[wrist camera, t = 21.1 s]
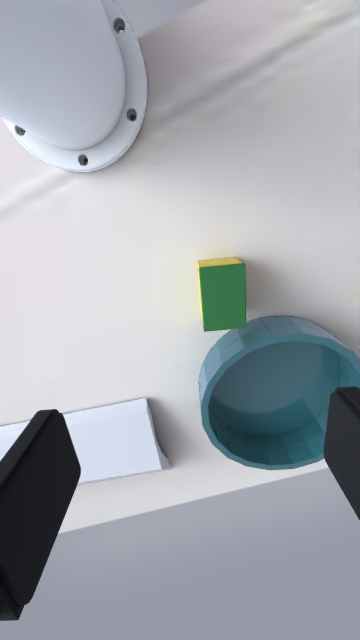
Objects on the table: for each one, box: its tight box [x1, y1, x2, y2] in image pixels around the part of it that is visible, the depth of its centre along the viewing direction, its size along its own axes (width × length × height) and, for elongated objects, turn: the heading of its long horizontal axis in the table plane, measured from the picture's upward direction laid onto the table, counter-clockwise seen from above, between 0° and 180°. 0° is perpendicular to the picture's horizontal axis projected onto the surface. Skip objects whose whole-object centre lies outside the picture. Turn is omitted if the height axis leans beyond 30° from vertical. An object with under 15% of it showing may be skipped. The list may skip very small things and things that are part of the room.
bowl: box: [199, 316, 360, 470], centre depth 30 cm, size 18×18×5 cm
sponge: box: [197, 257, 246, 331], centre depth 26 cm, size 6×4×4 cm, turn 6°
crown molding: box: [0, 398, 171, 485], centre depth 35 cm, size 29×12×4 cm, turn 104°
